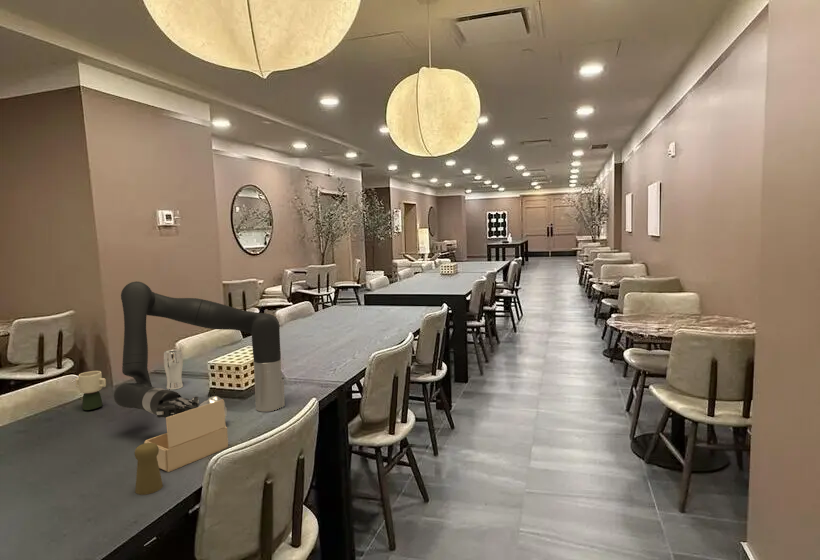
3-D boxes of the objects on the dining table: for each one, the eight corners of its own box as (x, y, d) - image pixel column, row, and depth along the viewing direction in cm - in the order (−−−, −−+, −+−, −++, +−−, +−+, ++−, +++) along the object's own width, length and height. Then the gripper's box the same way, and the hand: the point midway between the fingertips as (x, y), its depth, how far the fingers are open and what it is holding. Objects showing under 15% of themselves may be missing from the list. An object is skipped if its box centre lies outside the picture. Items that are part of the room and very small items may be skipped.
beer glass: (188, 385, 208) (186, 349, 206) (175, 390, 201) (172, 353, 200) (174, 384, 210) (172, 348, 208) (161, 389, 203) (159, 352, 202)
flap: (225, 426, 145) (222, 399, 145) (225, 426, 145) (223, 399, 144) (168, 447, 131) (165, 417, 131) (169, 447, 131) (166, 417, 130)
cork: (141, 483, 126) (138, 440, 125) (166, 481, 126) (164, 439, 125) (130, 495, 120) (127, 450, 119) (156, 493, 120) (154, 449, 119)
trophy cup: (113, 405, 185) (111, 370, 184) (101, 412, 178) (98, 376, 176) (84, 405, 185) (81, 370, 184) (71, 412, 178) (68, 376, 177)
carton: (205, 438, 153) (204, 419, 152) (229, 447, 146) (228, 427, 146) (143, 462, 137) (142, 440, 137) (167, 472, 131) (165, 450, 130)
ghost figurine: (214, 433, 156) (212, 402, 155) (190, 430, 160) (188, 399, 159) (233, 423, 165) (232, 393, 164) (210, 420, 168) (209, 390, 167)
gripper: (138, 395, 142) (171, 405, 132) (182, 384, 153) (216, 391, 143) (140, 421, 142) (173, 433, 132) (184, 408, 153) (218, 417, 143)
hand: (196, 411), depth 138 cm, fingers closed
